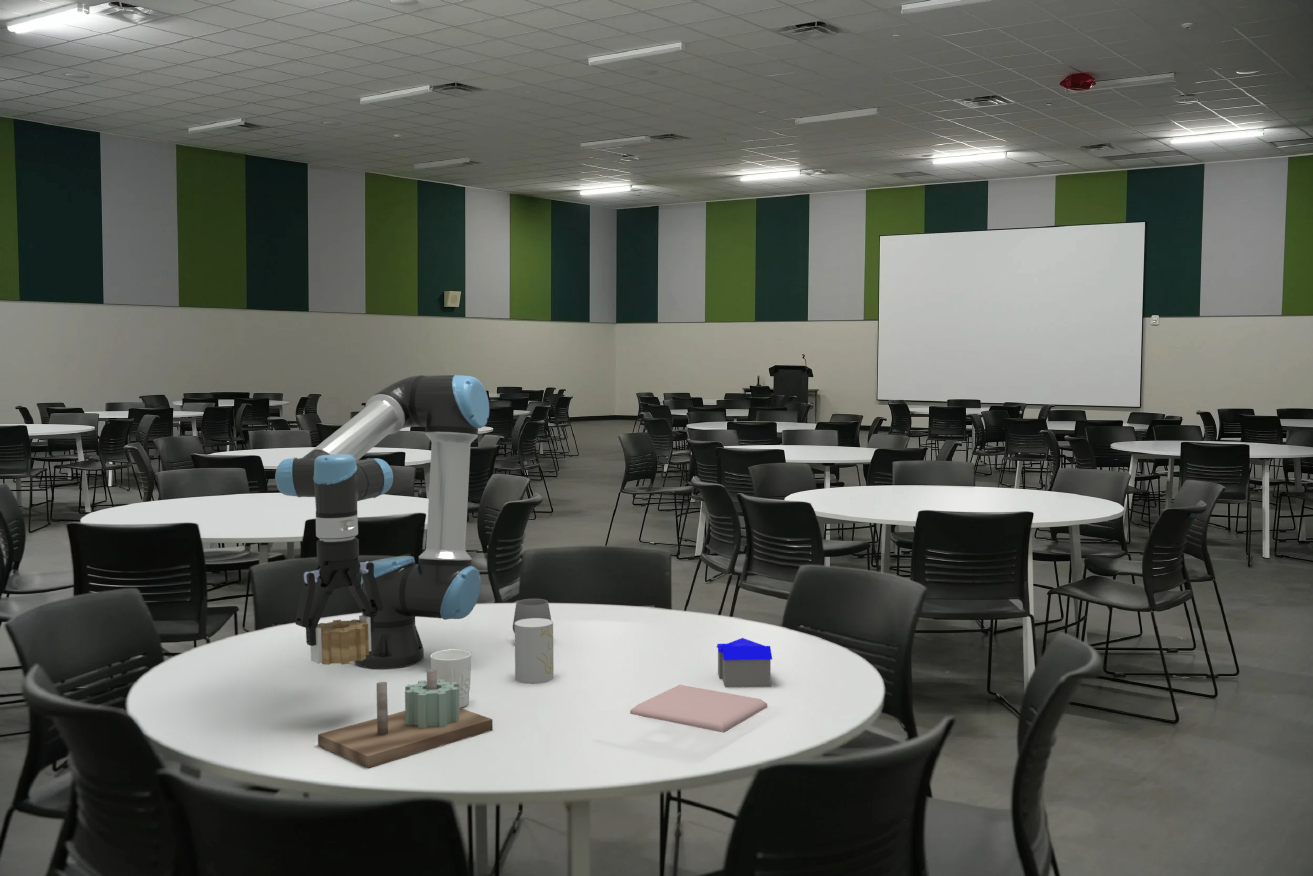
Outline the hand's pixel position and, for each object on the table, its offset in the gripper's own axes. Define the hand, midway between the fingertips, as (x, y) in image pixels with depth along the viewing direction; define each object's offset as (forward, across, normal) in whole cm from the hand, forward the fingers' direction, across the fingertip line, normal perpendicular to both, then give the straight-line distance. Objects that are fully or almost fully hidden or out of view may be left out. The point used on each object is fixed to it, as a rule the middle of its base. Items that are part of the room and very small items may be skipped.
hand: (341, 655), depth 206 cm
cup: (+14, +61, +18) cm, 65 cm away
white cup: (+13, +19, -7) cm, 24 cm away
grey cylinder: (+13, +42, -5) cm, 45 cm away
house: (+14, +72, -39) cm, 83 cm away
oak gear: (0, 0, 0) cm, 0 cm away
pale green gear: (+10, +8, -17) cm, 22 cm away
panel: (+14, +42, -44) cm, 62 cm away
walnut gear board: (+12, +2, -17) cm, 21 cm away
